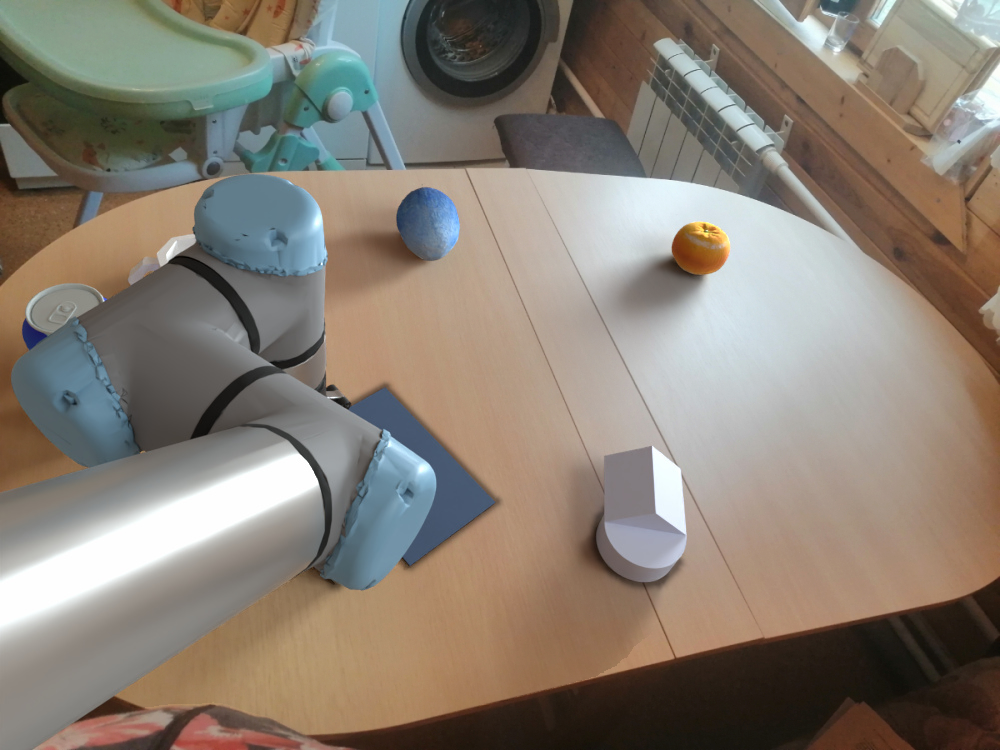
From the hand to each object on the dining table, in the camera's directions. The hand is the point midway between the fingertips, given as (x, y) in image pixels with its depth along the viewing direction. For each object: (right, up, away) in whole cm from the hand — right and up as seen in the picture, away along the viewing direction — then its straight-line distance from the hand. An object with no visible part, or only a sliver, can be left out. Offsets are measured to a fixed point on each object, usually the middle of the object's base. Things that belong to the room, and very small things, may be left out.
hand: (288, 524), depth 72 cm
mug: (-17, +22, +19) cm, 34 cm away
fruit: (+51, +32, +41) cm, 73 cm away
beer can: (-22, +11, +8) cm, 26 cm away
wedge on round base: (+36, -2, +9) cm, 37 cm away
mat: (+9, +4, +9) cm, 14 cm away
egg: (+10, +35, +35) cm, 50 cm away
